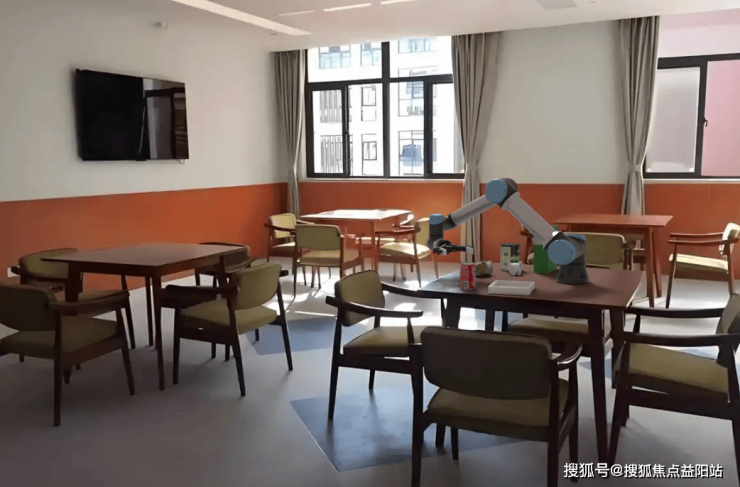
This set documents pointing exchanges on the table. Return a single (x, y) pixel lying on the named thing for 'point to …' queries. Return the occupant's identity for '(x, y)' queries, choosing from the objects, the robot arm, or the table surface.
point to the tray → (511, 287)
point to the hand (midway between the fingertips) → (459, 252)
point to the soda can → (467, 276)
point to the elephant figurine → (515, 268)
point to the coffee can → (509, 254)
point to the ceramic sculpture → (484, 268)
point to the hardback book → (542, 257)
